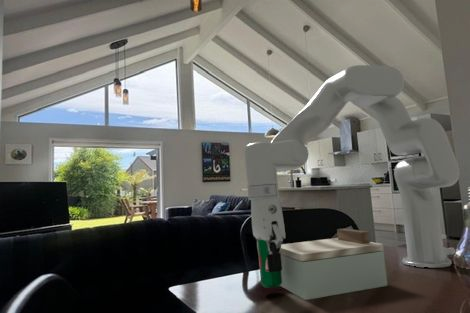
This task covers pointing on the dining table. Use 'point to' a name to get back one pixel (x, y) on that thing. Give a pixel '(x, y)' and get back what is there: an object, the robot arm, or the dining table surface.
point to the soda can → (267, 277)
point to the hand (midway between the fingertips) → (270, 268)
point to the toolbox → (333, 274)
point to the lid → (332, 246)
